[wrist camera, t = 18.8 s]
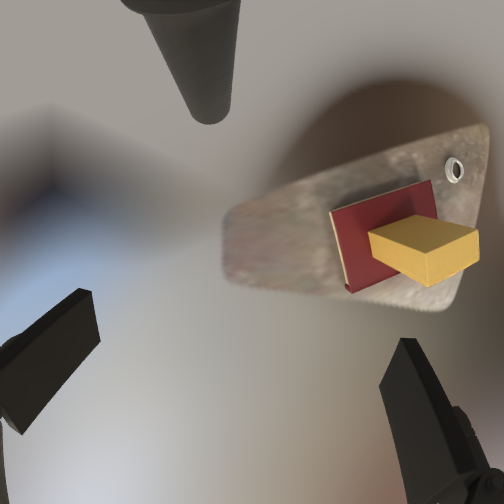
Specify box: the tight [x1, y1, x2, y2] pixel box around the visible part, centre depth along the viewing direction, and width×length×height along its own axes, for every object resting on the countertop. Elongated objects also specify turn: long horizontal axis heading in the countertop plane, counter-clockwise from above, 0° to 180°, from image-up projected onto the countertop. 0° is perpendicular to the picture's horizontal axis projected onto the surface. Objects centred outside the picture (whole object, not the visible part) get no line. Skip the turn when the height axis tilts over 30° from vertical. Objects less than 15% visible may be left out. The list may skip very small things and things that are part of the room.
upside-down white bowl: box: [445, 157, 464, 183], centre depth 36 cm, size 5×3×5 cm
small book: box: [368, 215, 479, 287], centre depth 29 cm, size 4×8×12 cm, turn 107°
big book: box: [329, 180, 438, 294], centre depth 37 cm, size 16×11×4 cm
